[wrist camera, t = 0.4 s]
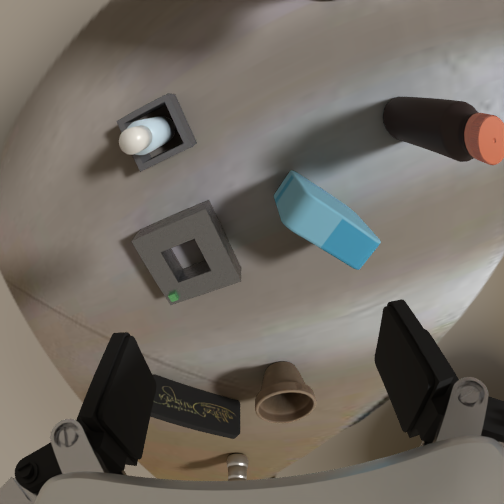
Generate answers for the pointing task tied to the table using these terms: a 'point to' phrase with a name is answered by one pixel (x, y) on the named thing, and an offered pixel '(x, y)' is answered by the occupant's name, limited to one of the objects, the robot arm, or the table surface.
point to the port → (196, 276)
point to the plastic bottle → (237, 467)
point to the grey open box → (180, 123)
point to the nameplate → (195, 408)
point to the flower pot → (284, 395)
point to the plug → (146, 135)
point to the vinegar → (446, 128)
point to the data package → (324, 220)
